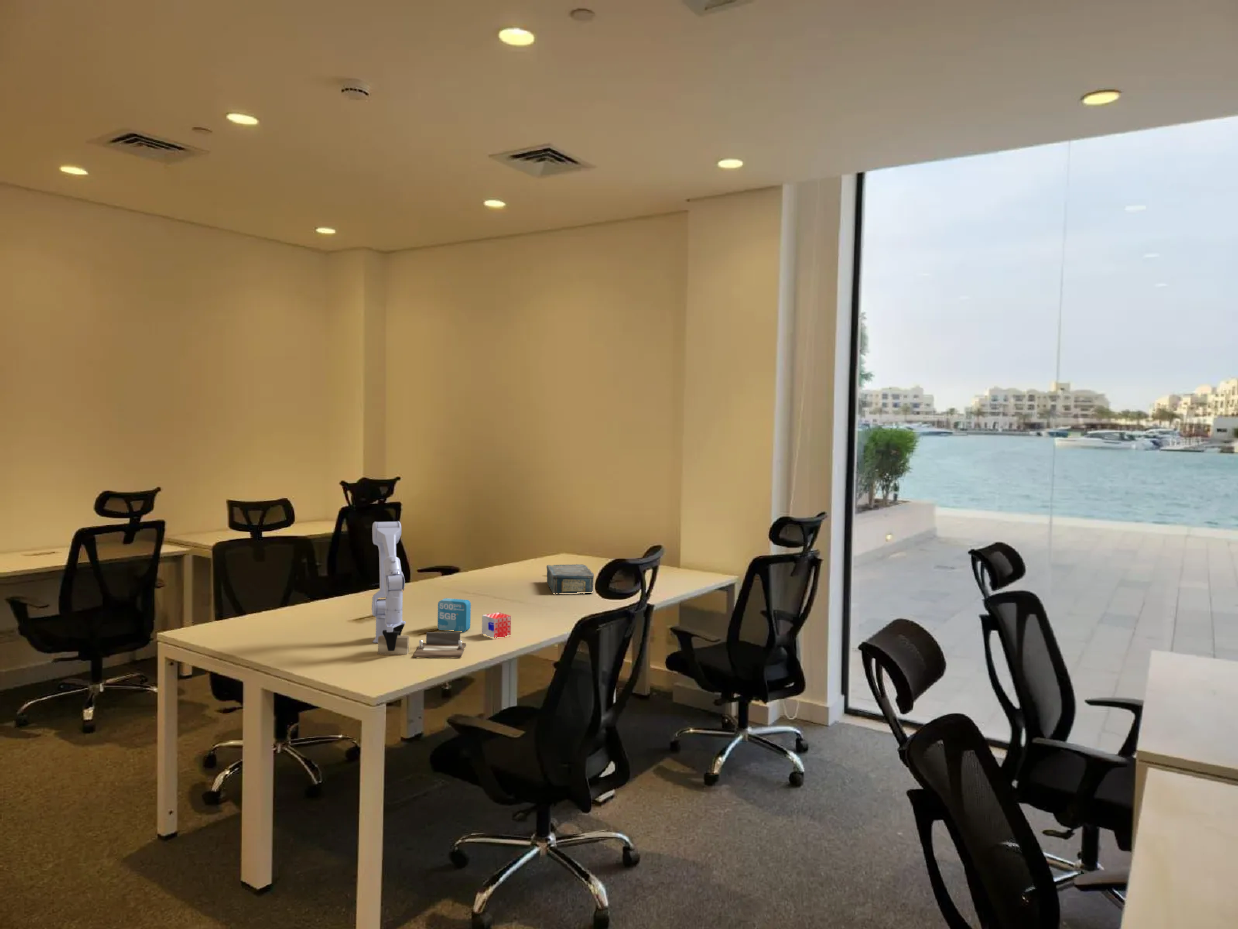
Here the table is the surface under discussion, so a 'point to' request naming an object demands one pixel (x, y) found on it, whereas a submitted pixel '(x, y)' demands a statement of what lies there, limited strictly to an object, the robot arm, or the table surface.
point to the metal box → (569, 578)
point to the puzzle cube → (496, 625)
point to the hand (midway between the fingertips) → (393, 647)
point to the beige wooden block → (400, 647)
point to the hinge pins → (422, 644)
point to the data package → (454, 614)
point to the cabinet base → (441, 645)
